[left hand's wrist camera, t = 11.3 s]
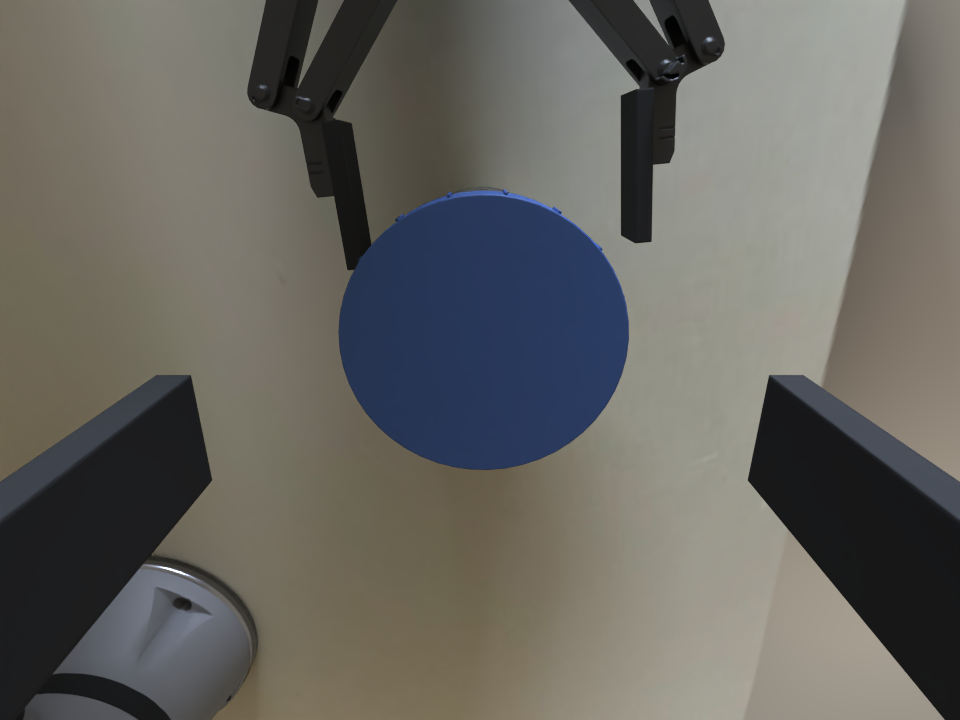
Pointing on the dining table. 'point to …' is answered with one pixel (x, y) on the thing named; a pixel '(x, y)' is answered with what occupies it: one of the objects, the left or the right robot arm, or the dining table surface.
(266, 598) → the dining table surface
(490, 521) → the dining table surface
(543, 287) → the lid
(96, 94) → the dining table surface
